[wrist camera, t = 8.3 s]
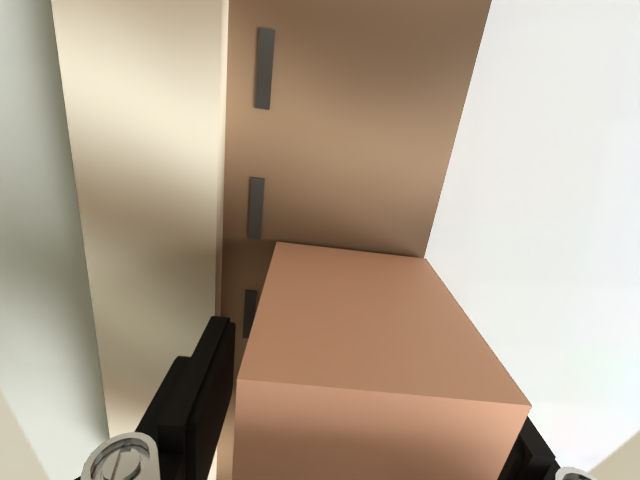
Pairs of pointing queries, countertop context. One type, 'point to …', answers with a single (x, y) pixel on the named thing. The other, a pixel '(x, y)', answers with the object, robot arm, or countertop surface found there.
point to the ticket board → (246, 156)
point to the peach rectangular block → (368, 376)
